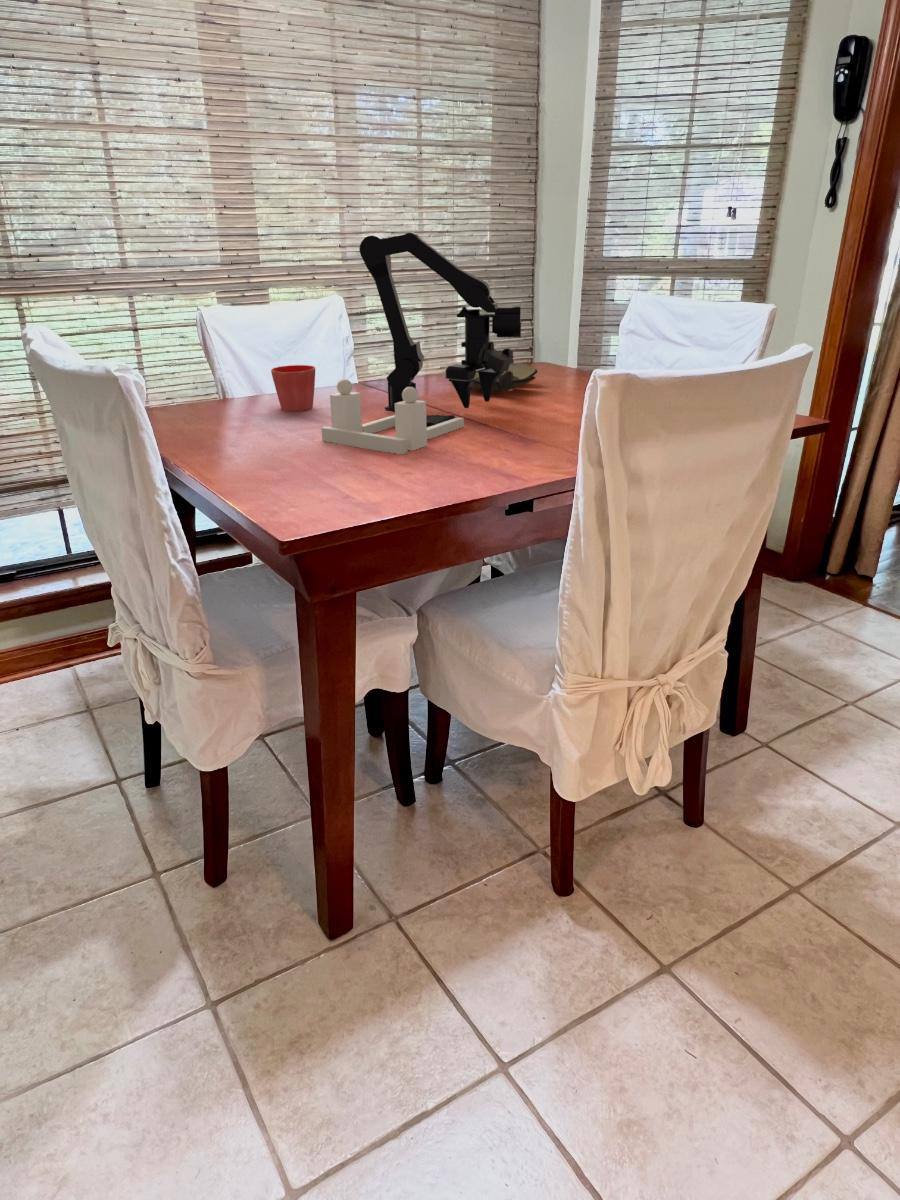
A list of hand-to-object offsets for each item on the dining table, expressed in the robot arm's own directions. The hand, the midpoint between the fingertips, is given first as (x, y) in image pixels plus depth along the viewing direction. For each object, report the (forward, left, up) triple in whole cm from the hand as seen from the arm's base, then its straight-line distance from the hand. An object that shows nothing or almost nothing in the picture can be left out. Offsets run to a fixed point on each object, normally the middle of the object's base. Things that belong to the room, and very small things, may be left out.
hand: (476, 404), depth 197 cm
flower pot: (-39, -22, -1) cm, 45 cm away
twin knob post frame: (0, -30, -1) cm, 30 cm away
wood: (+1, -22, -2) cm, 22 cm away
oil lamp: (-10, +24, -2) cm, 26 cm away
